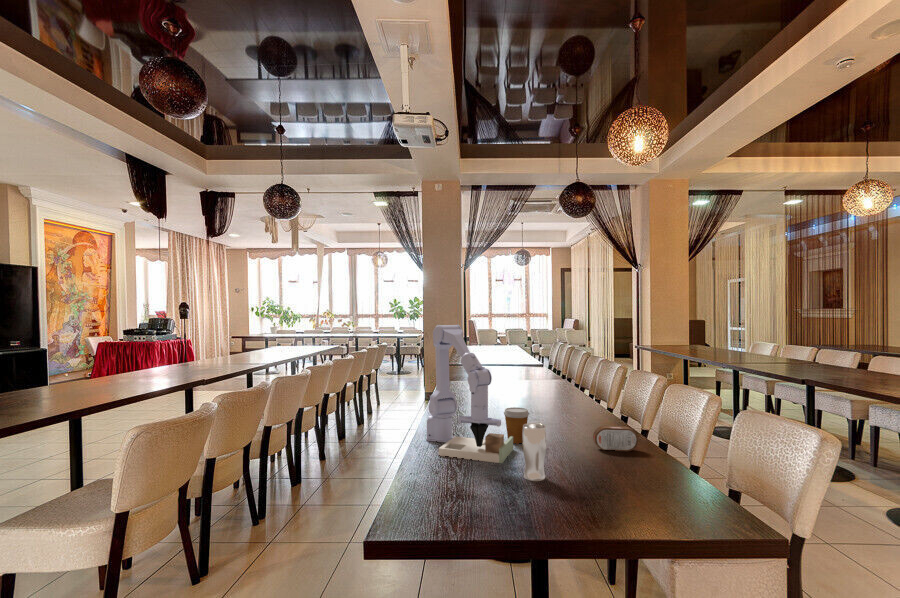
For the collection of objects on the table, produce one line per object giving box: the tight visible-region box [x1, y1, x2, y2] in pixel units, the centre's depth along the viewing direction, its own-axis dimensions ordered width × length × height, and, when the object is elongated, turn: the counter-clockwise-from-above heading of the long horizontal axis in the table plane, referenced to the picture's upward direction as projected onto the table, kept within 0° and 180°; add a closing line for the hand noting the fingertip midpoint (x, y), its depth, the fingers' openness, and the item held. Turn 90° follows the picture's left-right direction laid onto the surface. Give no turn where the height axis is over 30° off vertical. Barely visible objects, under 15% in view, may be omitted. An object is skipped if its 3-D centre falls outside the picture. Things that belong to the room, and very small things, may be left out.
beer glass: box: [521, 422, 547, 482], centre depth 132 cm, size 7×7×15 cm
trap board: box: [438, 436, 514, 464], centre depth 156 cm, size 22×16×4 cm
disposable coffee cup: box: [503, 407, 530, 445], centre depth 169 cm, size 10×10×12 cm
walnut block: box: [484, 432, 505, 454], centre depth 149 cm, size 5×5×5 cm
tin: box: [592, 425, 639, 452], centre depth 159 cm, size 15×3×8 cm, turn 84°
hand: (479, 445), depth 151 cm, fingers closed
